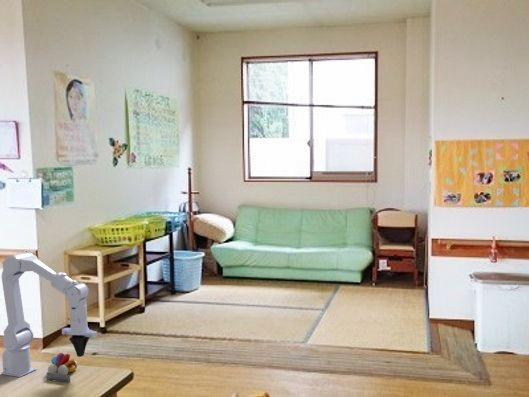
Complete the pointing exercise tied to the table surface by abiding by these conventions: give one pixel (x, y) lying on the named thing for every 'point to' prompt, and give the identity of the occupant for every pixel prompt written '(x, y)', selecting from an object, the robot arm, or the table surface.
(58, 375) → the rail
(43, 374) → the table surface
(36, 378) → the table surface
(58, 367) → the rainbow disc baby rattle
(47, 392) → the table surface
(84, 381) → the table surface
